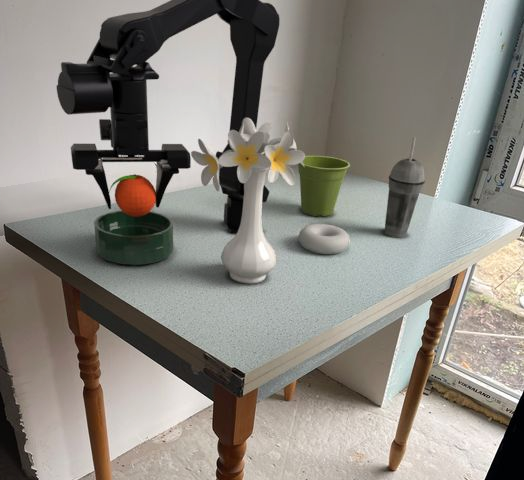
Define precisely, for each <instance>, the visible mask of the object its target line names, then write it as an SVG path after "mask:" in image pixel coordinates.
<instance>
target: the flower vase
mask: <svg viewBox="0 0 524 480" xmlns="http://www.w3.org/2000/svg"><path fill="white" fill-rule="evenodd" d="M272 128H273V122H272V121H266V122H264V123H263V124H262V125H260V126H259V128H258V129H257V127H256V128H255V125H254V123H253V121H252V120H251V119H250V118H244V119H243V121H242V126H241V128H240V131H239V132H237V131H235V130H231V131H230V130H228V132H227V138H228V139H227V144H229V145H230V147H231V148H232V149H233V150H227V151H225V152H224V153H223V154H222V155H221V157H220V158H219V159H218V158H217V157H216V154H214V153H213V152H212V151H211V150H210V149H209V148H208V146H207V145H206V144H205V143H204V141H203V140H202V139H201V138H197V143H198V146H199V149H200V151H197V150H191V152H190V157H191V159H193V161H194V162H195V163H197V164H198V165H200V166H202V167H203V166H204V168H203V169H202V171H201V175H200V180H201V184H202V186H204V187H206V186H208V185H209V183H211V180H212V185H213V187H214V189H215V190H216V191H217V192H220V184H219V169H220V168H222V167H223V166H224V167H232V166H238V165H239V166H238V169H237V176H238V180H239V181H240V182H241V183H244V200H243V211H242V218H241V223H240V227H239V230H238V232H237V233H235V234H234V235H235V236H233V237H232V238H231V239H230V240H229V241H228V242H227V243H226V244H225V245H224V247H223V249H222V251H221V255H220V260H221V263H222V265H223V267H224V268H225V269H226V270H227V271H228V272H229V276H230V278H231V280H233V281H235V282H238V283H241V284H248V285H249V284H258V283H261V282H263V281H265V279H266V278H267V275H268V274H269V273H271V272H272V271H273V270H274V269H275V267H276V265H277V262H278V261H277V259H278V257H277V255H276V251H275V248H274V247H273V246H272V244H271V243H270V242H269V241H268V239H267V238H266V236H265V233H264V228H263V222H262V221H263V203H262V197H263V187H264V185H265V181H266V178H267V181H268V183H270V184H273V183H274V182H276V181H277V180H278V178H279V176H281V178H282V179H283V180H284V181H285V183H286V184H287V185H288V186H291V187H292V186H294V185H295V184H296V176H295V172H294V171H293V169H292V168H291V166H295V165H298V164H299V163H300V164H301V165H302V166H303V167H304V164H303V160H304V158H305V156H306V154H305V152H304V151H302V150H299V149H297V143H296V141H295V139H294V136H293V132H292V130H291V128H290V127H289V122H288V119H286V120H285V129H284V133H283V134H282V136H281V137H276V138H273V139H270V137H271V135H270V132H271V130H272ZM277 144H278V145H277ZM275 145H277V147H276V146H275ZM220 165H221V166H220Z"/></svg>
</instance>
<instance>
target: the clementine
mask: <svg viewBox="0 0 524 480" xmlns="http://www.w3.org/2000/svg"><path fill="white" fill-rule="evenodd" d="M115 184H116V188H115V190H114V199H115V203H116V205H117V207H118V208H119V210H120V211H121V210H122V211H123V212H124V213H126V214H127V215H130V216H134V217H139V216H144V215H146V214H147V213H149V212H150V211H151V212H152V210H153V209H154V207H155V206H156V188H155V187H154V184H152V182H151V180H149V179H148V178H146V177H145V176H143V175H140V174H129V175H123V176H121V177H119V178H117V179H116V180H115V181H114V182H113V183H112V184H111V185H110V188H109V193H110V192H111V190H112V188H113V187H114V186H115Z"/></svg>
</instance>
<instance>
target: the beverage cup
mask: <svg viewBox="0 0 524 480" xmlns="http://www.w3.org/2000/svg"><path fill="white" fill-rule="evenodd" d="M416 139H417V136H415V135H414V136H413V137H412V141H411V147H410V151H409V157H408V158H403V159H400V160H398V161H397V162H396V163H395V164H394V165H393V166H392V168H391V171H390V173H389V176H388V196H387V205H386V211H385V212H386V213H385V222H384V234H385V235H386V236H389V237H392V238H405V237H406V236H407V232H408V230H409V229H410V228H409V227H410V225H411V221H412V218H413V215H414V212H415V208H416V205H417V202H418V199H419V196H420V193H421V192H422V188H423V187H424V184H425V177H426V172H425V169H424V166H423V164H422V163H421V162H420V161H418V159H414V158H413V154H414V149H415V144H416Z"/></svg>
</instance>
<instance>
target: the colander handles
mask: <svg viewBox="0 0 524 480" xmlns="http://www.w3.org/2000/svg"><path fill="white" fill-rule="evenodd" d="M131 242H132V245H149V241H148V238H147V237H139V238H131Z"/></svg>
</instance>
